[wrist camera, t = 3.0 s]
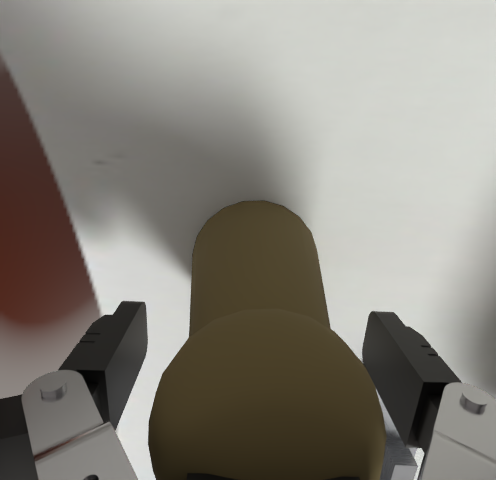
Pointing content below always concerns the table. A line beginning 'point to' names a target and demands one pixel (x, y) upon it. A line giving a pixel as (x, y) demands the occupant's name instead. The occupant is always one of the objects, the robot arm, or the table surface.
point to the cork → (263, 364)
